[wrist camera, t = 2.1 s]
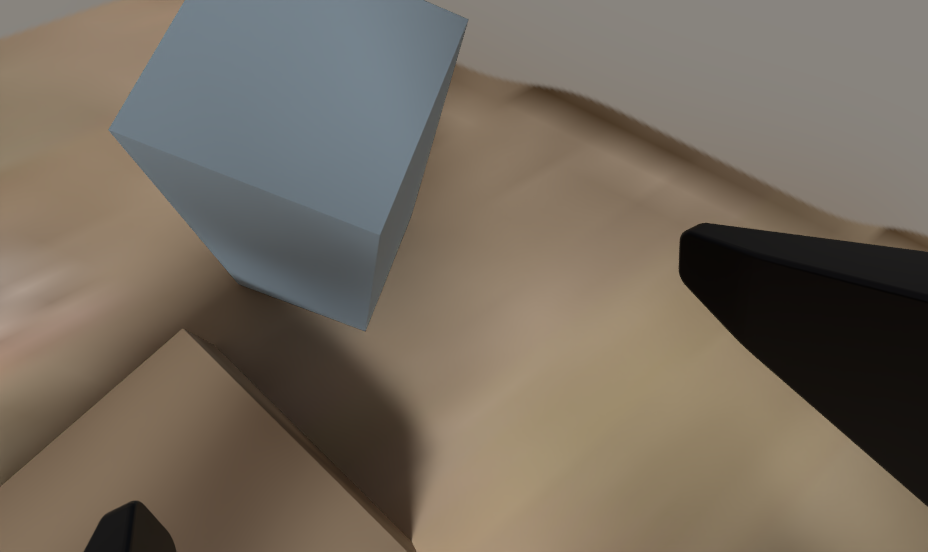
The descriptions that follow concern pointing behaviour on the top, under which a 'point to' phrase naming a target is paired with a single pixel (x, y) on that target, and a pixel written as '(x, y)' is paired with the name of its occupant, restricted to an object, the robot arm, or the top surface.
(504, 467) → the top surface
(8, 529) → the base block
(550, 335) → the top surface
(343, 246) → the pillar
